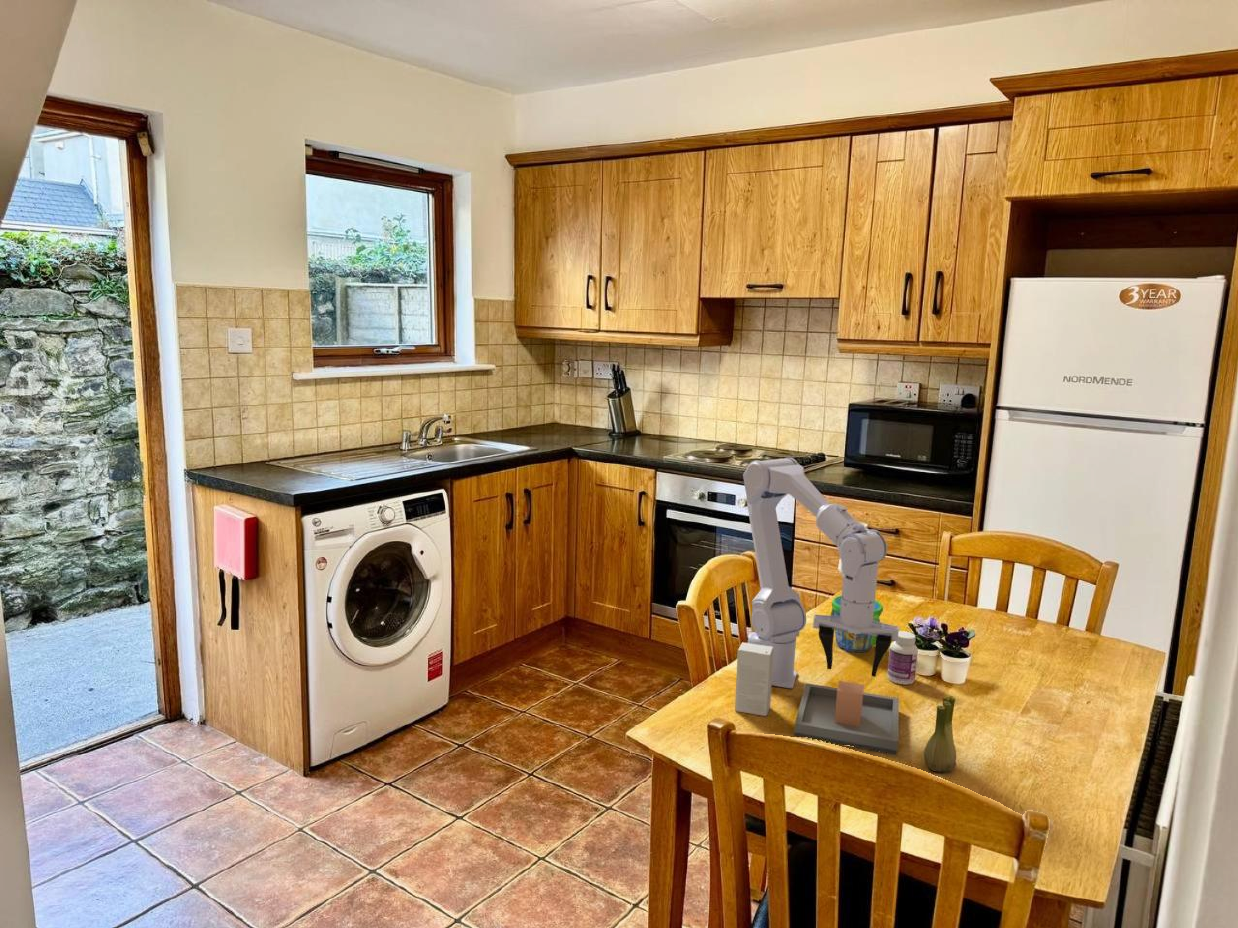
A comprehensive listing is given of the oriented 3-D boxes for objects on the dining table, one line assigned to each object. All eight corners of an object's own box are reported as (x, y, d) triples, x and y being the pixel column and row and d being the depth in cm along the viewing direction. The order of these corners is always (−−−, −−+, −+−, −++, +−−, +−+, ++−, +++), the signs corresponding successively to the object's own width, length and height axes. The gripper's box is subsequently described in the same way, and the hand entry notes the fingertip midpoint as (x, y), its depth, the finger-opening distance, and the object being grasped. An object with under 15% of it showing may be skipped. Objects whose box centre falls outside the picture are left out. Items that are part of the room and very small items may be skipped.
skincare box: (770, 707, 159) (774, 646, 156) (766, 717, 155) (770, 655, 153) (738, 701, 161) (741, 641, 158) (733, 711, 157) (737, 649, 154)
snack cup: (894, 659, 182) (898, 614, 180) (848, 662, 180) (852, 616, 178) (857, 631, 197) (861, 589, 195) (815, 634, 195) (819, 591, 193)
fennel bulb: (935, 778, 136) (943, 708, 134) (913, 763, 141) (920, 695, 138) (963, 771, 139) (971, 702, 136) (940, 756, 143) (948, 689, 141)
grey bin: (793, 736, 148) (794, 723, 148) (804, 695, 164) (805, 682, 164) (896, 755, 143) (898, 741, 143) (897, 710, 159) (898, 698, 158)
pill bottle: (916, 686, 169) (921, 641, 167) (888, 683, 170) (892, 638, 168) (912, 675, 174) (917, 630, 173) (885, 672, 175) (889, 628, 174)
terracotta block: (834, 722, 152) (837, 690, 151) (836, 711, 156) (839, 680, 155) (860, 726, 151) (862, 694, 150) (861, 715, 155) (864, 684, 154)
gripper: (813, 599, 149) (807, 672, 152) (900, 611, 145) (893, 686, 147) (817, 587, 156) (812, 657, 158) (901, 598, 151) (894, 670, 154)
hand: (851, 670), depth 153 cm, fingers open, 7 cm apart
